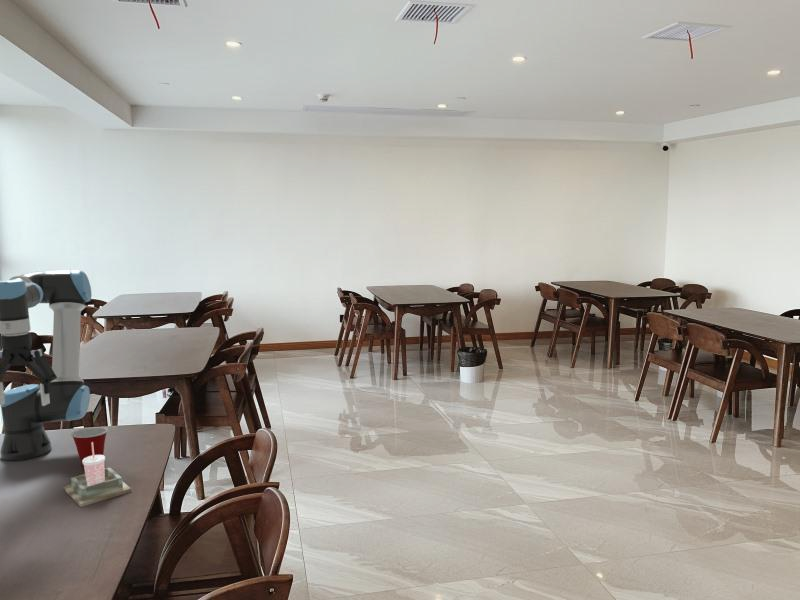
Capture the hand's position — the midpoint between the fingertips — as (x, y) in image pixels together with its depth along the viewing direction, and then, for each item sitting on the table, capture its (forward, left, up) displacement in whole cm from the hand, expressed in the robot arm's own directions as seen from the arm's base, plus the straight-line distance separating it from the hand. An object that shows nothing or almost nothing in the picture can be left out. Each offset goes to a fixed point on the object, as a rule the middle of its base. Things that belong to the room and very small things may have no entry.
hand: (23, 404), depth 181 cm
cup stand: (+14, +14, -27) cm, 33 cm away
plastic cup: (-7, +19, -27) cm, 34 cm away
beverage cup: (+14, +14, -26) cm, 32 cm away
